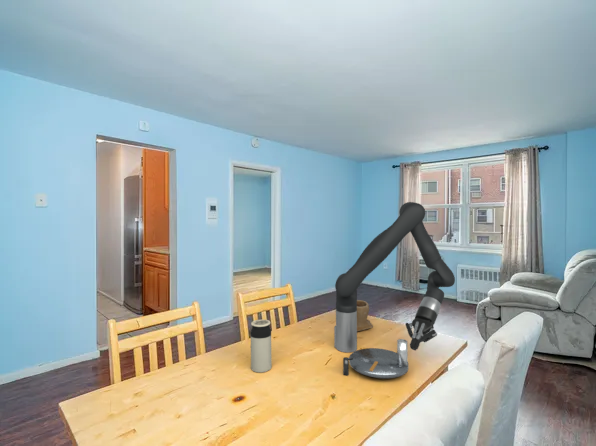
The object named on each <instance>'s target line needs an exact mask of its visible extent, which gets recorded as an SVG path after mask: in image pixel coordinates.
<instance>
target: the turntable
mask: <svg viewBox="0 0 596 446" xmlns="http://www.w3.org/2000/svg"><path fill="white" fill-rule="evenodd" d="M396 345H397V347H396V349H397V350H396V351H397V352H396V351H393V350H390V349H384V348H374V347H370V348H368V347H366V348H361V349H357V350H356V351H354V352H351V354H350V355H349V356H348V358H350V357H352V358H353V360H349V366H350V367H351V368H352V369H353V370H354V371H355V372H357V373H359V374H360V375H364V376H366V377H367V376H368V377H371V378H377V379H396V378H399V377H403V376H404V375H405V374H407V373H408V371H409V361H408V358H409V357H408V356H409V355H408V353H409V351H408V340H407V339H402V338H398V339H396Z"/></svg>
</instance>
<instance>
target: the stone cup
mask: <svg viewBox="0 0 596 446" xmlns="http://www.w3.org/2000/svg"><path fill="white" fill-rule="evenodd" d="M369 312H370V305H369V303H368V302H367V301H366V300H362V299H361V300H360V299H357V332H362V331H365V330H368V329H372V328H374V325H373V324H372V322H371V321H370V319H368V316H369V314H370V313H369Z"/></svg>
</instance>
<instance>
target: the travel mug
mask: <svg viewBox="0 0 596 446" xmlns="http://www.w3.org/2000/svg"><path fill="white" fill-rule="evenodd" d="M250 324H251V329H250V369H251V370H252V371H253V372H255V373H265V372H268V371H270V370H271V369H272V365H273V364H272V328H271V327H270V325H271V321H270V320H269V319H256V320H253V321H251V322H250Z"/></svg>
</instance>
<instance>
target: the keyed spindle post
mask: <svg viewBox="0 0 596 446" xmlns="http://www.w3.org/2000/svg"><path fill="white" fill-rule="evenodd" d="M349 357H350V356H349ZM349 357H342V363H343V364H342V366H343V367H342V368H343V369H342V371H343V372H342V374H343V376H345V377H348V376H349V374H350V373H349V372H350V371H349V369H350V367H349V366H350V363H349V360H353V358H352V357H350V358H349Z"/></svg>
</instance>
